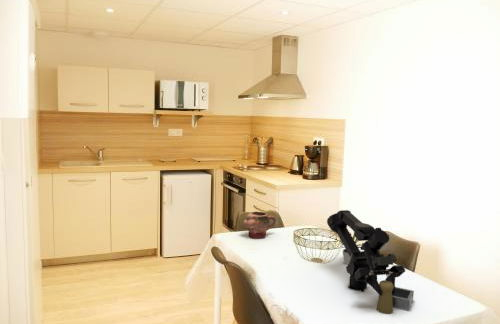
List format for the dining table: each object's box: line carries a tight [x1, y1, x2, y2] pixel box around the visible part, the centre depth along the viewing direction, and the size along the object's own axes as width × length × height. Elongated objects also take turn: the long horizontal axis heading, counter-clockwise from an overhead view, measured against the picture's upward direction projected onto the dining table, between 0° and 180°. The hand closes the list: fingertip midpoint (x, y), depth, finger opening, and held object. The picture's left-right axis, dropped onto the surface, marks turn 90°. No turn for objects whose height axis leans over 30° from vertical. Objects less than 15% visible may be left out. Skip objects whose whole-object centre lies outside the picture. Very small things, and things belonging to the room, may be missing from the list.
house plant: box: [339, 232, 362, 266], centre depth 200 cm, size 14×14×16 cm
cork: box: [375, 280, 394, 315], centre depth 153 cm, size 6×6×11 cm
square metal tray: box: [392, 286, 415, 312], centre depth 159 cm, size 10×10×4 cm
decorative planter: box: [243, 211, 277, 240], centre depth 240 cm, size 20×12×14 cm, turn 116°
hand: (387, 294), depth 151 cm, fingers closed on cork, 5 cm apart
